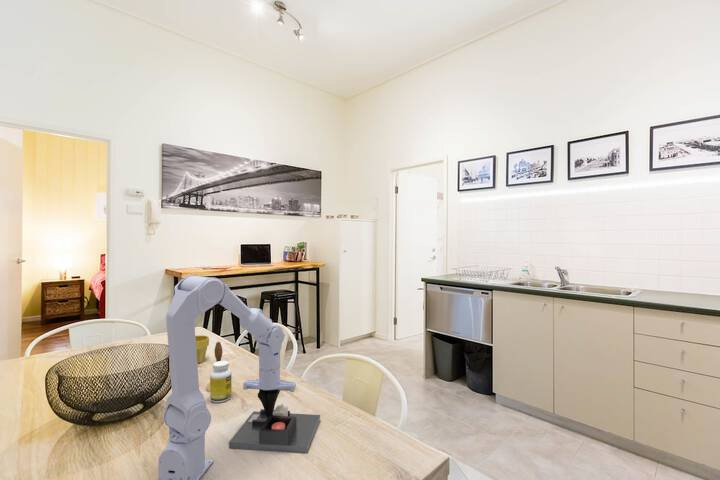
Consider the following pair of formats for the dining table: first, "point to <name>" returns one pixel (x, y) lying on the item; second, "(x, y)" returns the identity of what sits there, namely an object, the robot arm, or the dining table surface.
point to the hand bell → (218, 357)
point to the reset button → (278, 426)
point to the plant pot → (201, 347)
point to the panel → (276, 432)
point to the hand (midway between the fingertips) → (269, 415)
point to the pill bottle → (220, 382)
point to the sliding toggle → (281, 410)
